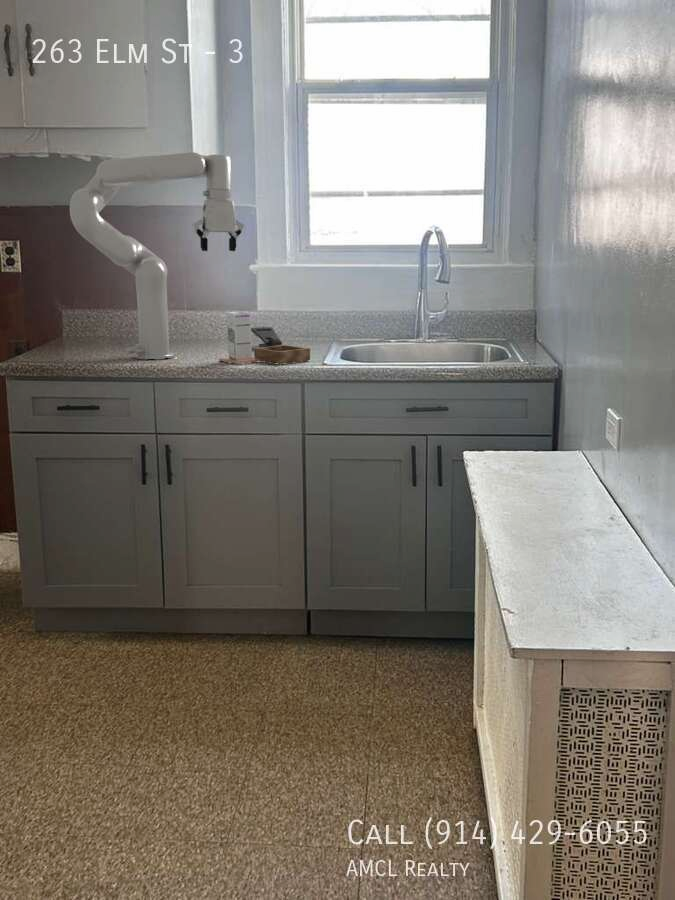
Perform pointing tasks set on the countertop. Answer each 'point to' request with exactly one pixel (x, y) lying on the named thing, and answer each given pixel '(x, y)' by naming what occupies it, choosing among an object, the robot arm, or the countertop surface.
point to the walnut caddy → (282, 354)
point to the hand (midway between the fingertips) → (218, 250)
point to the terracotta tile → (239, 360)
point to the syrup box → (239, 335)
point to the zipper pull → (267, 336)
